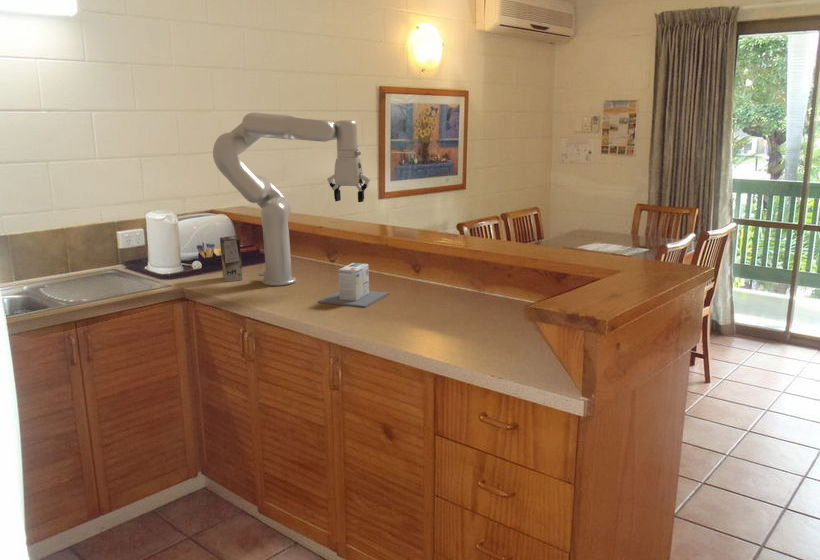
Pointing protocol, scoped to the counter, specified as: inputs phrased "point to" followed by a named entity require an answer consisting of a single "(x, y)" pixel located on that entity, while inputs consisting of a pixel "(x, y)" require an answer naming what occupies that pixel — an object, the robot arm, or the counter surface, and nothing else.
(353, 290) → the light bulb box
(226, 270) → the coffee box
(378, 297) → the mat
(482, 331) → the counter surface
